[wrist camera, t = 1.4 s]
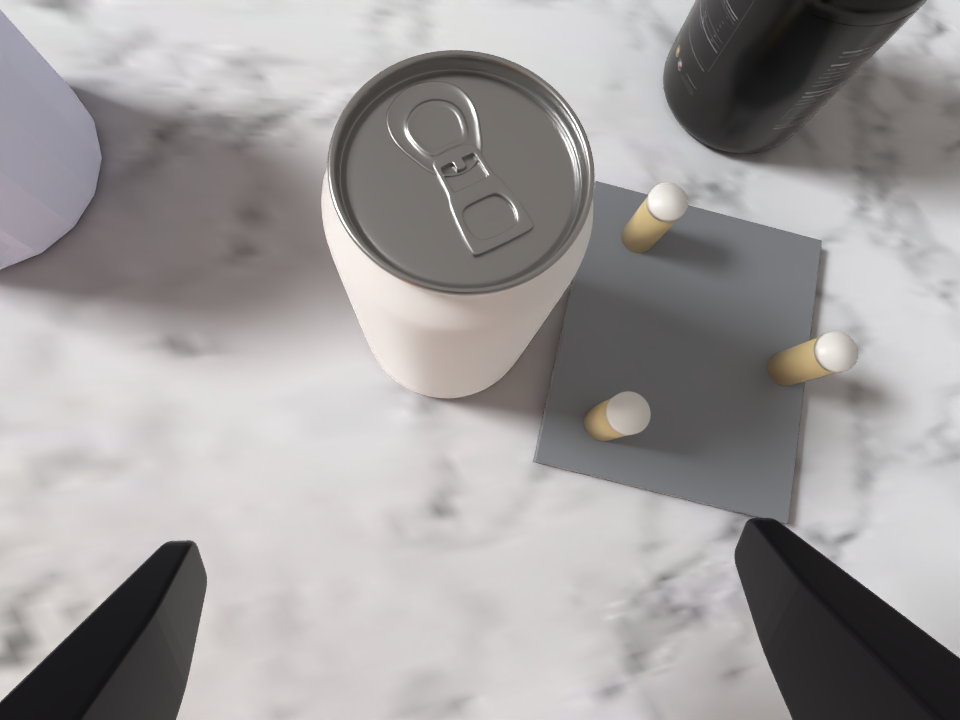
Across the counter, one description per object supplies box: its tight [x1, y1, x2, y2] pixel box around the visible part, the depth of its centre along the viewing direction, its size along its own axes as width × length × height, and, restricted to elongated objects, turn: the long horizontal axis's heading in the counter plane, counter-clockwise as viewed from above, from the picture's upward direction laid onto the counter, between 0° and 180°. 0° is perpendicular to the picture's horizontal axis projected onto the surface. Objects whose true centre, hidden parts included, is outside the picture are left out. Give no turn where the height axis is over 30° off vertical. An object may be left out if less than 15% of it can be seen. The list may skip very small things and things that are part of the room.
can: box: [321, 50, 594, 398], centre depth 18 cm, size 6×6×12 cm
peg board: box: [533, 181, 858, 524], centre depth 23 cm, size 12×10×4 cm
